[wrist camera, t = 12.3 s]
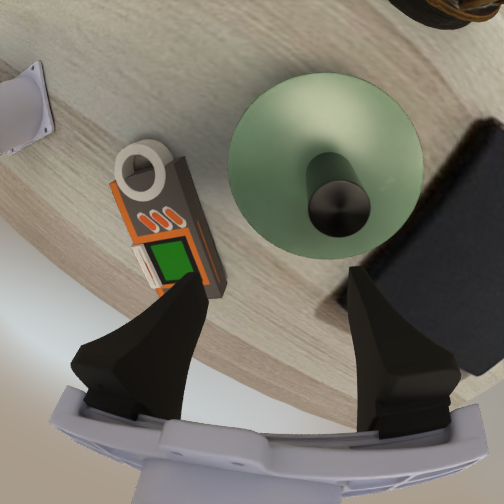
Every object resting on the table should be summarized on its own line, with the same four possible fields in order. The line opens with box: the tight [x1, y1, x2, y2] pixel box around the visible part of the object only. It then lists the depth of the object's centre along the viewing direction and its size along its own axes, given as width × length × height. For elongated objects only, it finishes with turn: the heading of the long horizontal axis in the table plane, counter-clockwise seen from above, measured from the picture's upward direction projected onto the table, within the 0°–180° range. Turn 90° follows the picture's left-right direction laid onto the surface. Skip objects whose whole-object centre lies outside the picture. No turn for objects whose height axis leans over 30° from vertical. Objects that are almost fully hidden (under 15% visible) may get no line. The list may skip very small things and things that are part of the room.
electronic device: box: [109, 139, 227, 299], centre depth 24 cm, size 7×3×15 cm
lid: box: [228, 72, 424, 259], centre depth 12 cm, size 10×10×5 cm
